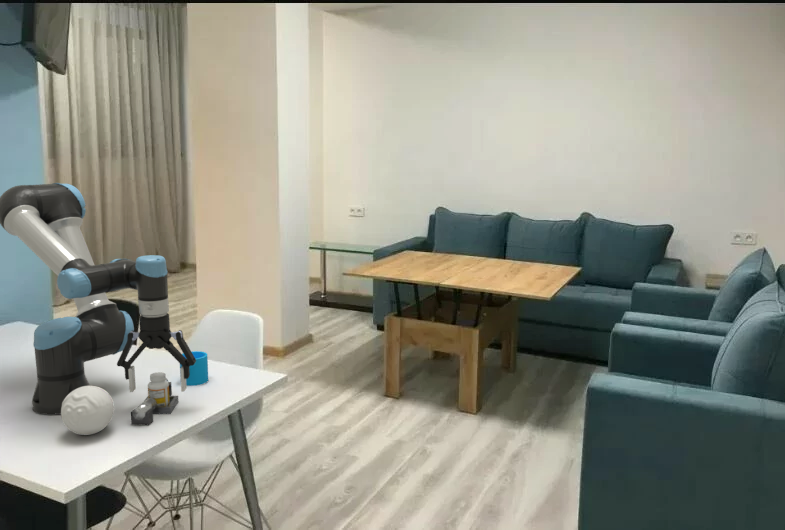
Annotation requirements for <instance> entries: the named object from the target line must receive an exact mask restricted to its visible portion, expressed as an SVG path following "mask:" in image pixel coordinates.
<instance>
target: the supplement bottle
mask: <svg viewBox="0 0 785 530" xmlns="http://www.w3.org/2000/svg"><path fill="white" fill-rule="evenodd" d="M166 374H167V373H165V372H163V371H157V372H152V373H151V374H150V375H149V380H150V381H149V383H148V384H147V395H148V396H147V397H148V398H153V399H155V400H156V402H157V406H169V404H170V400H169V383H168V382H169V380H168V381H166V380H165V379H166V378H167V376H166Z"/></svg>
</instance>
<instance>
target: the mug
mask: <svg viewBox="0 0 785 530" xmlns="http://www.w3.org/2000/svg"><path fill="white" fill-rule="evenodd" d="M191 352H192V354H193V355H194V357H195V359H196V362H195V364H194V365H193V366H189V371H190V376H189V378H188V379H186V386H187V387H189V386H190V387H195V386H201V385H204V383H205V384H206V383H208V382H209V364H208V362H209V361H208V353H207V352H206V351H200V350H197V351H196V350H194V351H191ZM181 354H182V355H183V356H184V357H185V355H184V353H183V352H182V353H181ZM185 358H186V357H185ZM181 367H182V365H181V364H180V363H179V369H180V368H181ZM179 374H180V373H179ZM179 378H180V381H181V374H180V375H179ZM207 381H208V382H207Z"/></svg>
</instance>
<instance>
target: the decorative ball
mask: <svg viewBox="0 0 785 530" xmlns="http://www.w3.org/2000/svg"><path fill="white" fill-rule="evenodd" d="M114 412H115V405H114V400H113V398H112V396H111V394H110V393H109V392H108V391H106V390H105V389H104V388H102V387H99V386H96V385H90V386H83V387H80V388H77V389H75V390H74V391H72V392H71V393H69V394H68V395H67V396H66V398H65V399H64V401H63V402H62V407H61V414H60V416H61V419H62V422H63V425H64V426H65V427H66V428H67V429H68V430H69V431H71V432H72V433H74V434H76V435H81V436H87V435H88V436H90V435H94V434H97V433H99V432H100V431H103V430H104V429H105V428H106V427H107V426H108V425H109V424H110V422H111V421H112V419H113V417H114Z"/></svg>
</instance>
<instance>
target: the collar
mask: <svg viewBox="0 0 785 530" xmlns="http://www.w3.org/2000/svg"><path fill="white" fill-rule="evenodd" d="M147 399H148V396H147V397H146V398H145V399H144V401H145V400H147ZM169 400H170V404H169V406H156V408H155V409H154V410H153V415H172V413H173V412H174V410H175V409H176V407H177V406H178V405H179V395H171V396H169Z"/></svg>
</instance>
